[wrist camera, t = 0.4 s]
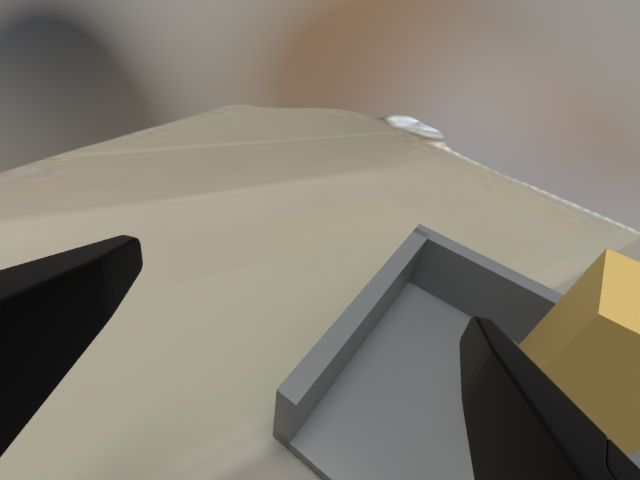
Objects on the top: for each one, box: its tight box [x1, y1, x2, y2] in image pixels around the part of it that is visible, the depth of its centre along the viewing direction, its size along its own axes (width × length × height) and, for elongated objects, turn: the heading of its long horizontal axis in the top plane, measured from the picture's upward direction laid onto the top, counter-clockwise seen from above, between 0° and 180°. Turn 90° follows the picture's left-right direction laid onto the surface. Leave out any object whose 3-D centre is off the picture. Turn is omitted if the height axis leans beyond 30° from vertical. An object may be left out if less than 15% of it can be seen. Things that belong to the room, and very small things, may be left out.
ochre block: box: [518, 249, 640, 456], centre depth 19 cm, size 5×5×12 cm
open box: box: [273, 224, 640, 480], centre depth 20 cm, size 17×24×6 cm
